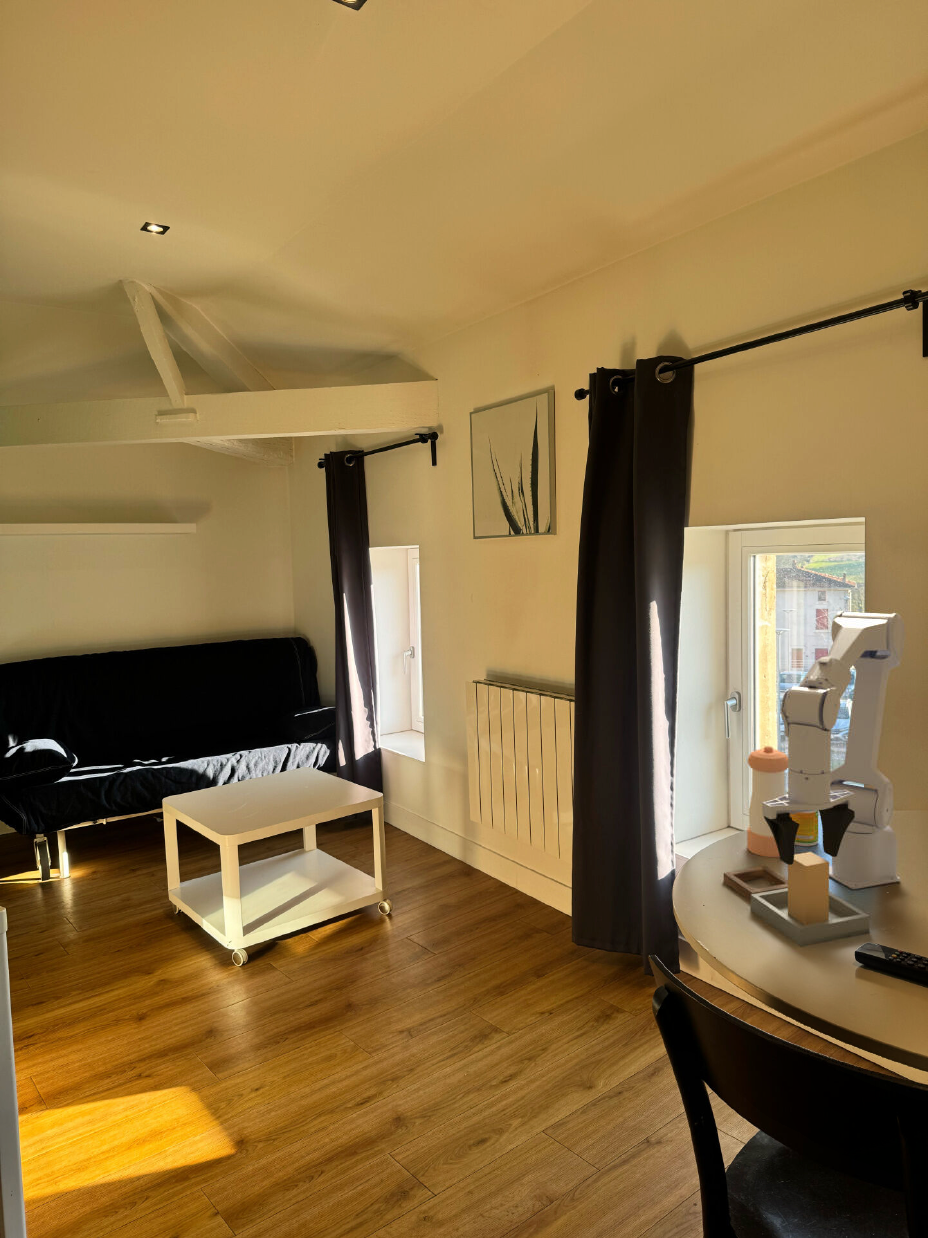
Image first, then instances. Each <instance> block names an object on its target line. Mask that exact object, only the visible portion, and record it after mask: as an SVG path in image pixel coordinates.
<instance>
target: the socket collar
mask: <svg viewBox="0 0 928 1238" xmlns="http://www.w3.org/2000/svg"><path fill="white" fill-rule="evenodd" d="M763 878H764V879H765V880H767V881H768V882H770V883H771V884H773V885H772V886H766V887H760V888H753V887H752V886H750V885H749V884H747V883H746V881H752V880H754V881H755V880H757V879H758V880H759V879H763ZM723 883H725V885H728V886H729V887H730V888H732V889H733V890H735V891H736V892H737V893H739V894H740V895H741V896H743V897H744V898H746V899H748V900H749V901H750V902H751V894H757V893H763V892H768V891H774V890H780V889H785V888H788V878H785V877H784V876H782V875H780V874H778V873H777V872H775V871H774V870H772V869H771V868H770V867H768V866H766V865H763V866H757V867H756V866H755V867H751V868H746V869H741V870H733V871H728V872H727V871H726V872H723Z"/></svg>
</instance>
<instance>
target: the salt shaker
mask: <svg viewBox="0 0 928 1238" xmlns="http://www.w3.org/2000/svg"><path fill="white" fill-rule="evenodd" d="M747 763H748V765H749V767H750V768H751V769H752V771H751V773H752V778H751V784H752V788H751V798H750V803H749V807H748V808H749V809H748V819H749V820H748V821H749V824H748V825H749V826H748V827H747V830H746V831H747V832H746V840H747V841H746V847H747V850H748V851H749V852H751V853H752V854H754V855H757V856H761V857H765V858H766V857H768V858H780V856H779V852H778V848H777V845H776V841H775V839H774V836H773V834H772V831H771V829H770V827H769V825H768V824H767V822H766V820H765V819H764V815H762V802H767V801H771V800H774V799H776V798H779V797H782V796H784V795H786V793H785V792H786V791H785V790H786V789H785V785H786V784H785V783H786V782H785V780H786V779H785V777H786V776H785V771H786V770H787V771H788V755H787V754H786V753H784V752H782V751H781V750H777V749H774V748H773V747H772V746H771V745H766V746H764V747H763V748H760V749H756V750H753V751H751V753H750V754H749V755H748V758H747Z"/></svg>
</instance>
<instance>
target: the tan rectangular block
mask: <svg viewBox="0 0 928 1238" xmlns="http://www.w3.org/2000/svg"><path fill="white" fill-rule="evenodd" d="M829 866H830V862H829V861H828V860H826V859H825V858H822V857H821V856H819V855H817V854H815V853H814V852H812V851H807V852H802V853H794V862H793V864H791V865H788V864H787V880H788V914H790V915H791V916H793V917H794V918H796V919H797V920H799V921H800V922H802V923H803V924H804V925H808V924H813V923H818V922H824V921H829V892H830V876H829Z"/></svg>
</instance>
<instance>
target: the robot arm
mask: <svg viewBox="0 0 928 1238" xmlns="http://www.w3.org/2000/svg"><path fill="white" fill-rule="evenodd" d="M905 629H906V628H905V621H904V619H903V617H902V616H901V615H900V613H896V612H893V613H878V612H877V613H875V612H874V613H873V612H872V613H871V612H851V611H850V612H848V611H844V610H840V611H838V612H837V613H836V614H835V616H834V617H833V620H832V623H831V631H830V633H831V635H830V636H831V640H832V642H833V643H832V645H831V647H830V649H829V651H828V653H827V655H826V656H823V657H819V658H818V659H817V660H816V661H815V660H814V662H813V664H812V665H811V667H810V668H809V671H808V672H806V675H805V676H804V677H803V679H802V680H801V681H800V683H799V685H798V686H792V687H791V688H789V689H786V691H784V694H783V696H782V701H781V707H780V715H781V720H782V722H783V725H784V728H783V729H784V730H783V731H784V733H783V734H784V735H785V737H787V742H788V743H787V752H788V753H787V757H788V768H787V772H788V773H787V787H788V788H787V789H788V790H786V794H785V795H784V796H782V797H779V798H776V799H774V800H771V801H767V802H762V815H764V819H765V820H766V822H767V824H768V825H769V827H770V829H771V831H772V834H773V836H774V839H775V841H776V845H777V848H778V852H779V856H780V857H779V860H780V861H781V862H783V863H785V864H787V866H788V865H791V864H793V862H794V855H795V846H796V845H795V838H796V834H797V831H798V828H799V825H800V824H799V823H797V822H795V821H793V820H792V817H790V814H795V813H801V812H808V811H814V810H818V814H819V817H820V822H821V828H822V832H821V833H822V848H823V853H825V854H826V855H829V856H830V857H831V865H829V878H832V879H834V880H836V882H839V883H840V884H843V885H844V886H846V887H848V888H850V889H852V890H857V889H863V888H869V887H874V886H875V887H876V886H880V885H885V884H890V883H897V882H901V877H899V876H898V875H897V871H898V870H897V868H898V867H897V865H898V864H897V862H898V858H897V857H898V841H897V837H896V834H895V831H894V830H893V828H892V827H891V826H890V824H891V822H892V818H893V814H894V797H893V796H894V794H893V793H894V787H893V785H894V784H892V782H891V780H889V779H888V778H887V777H886V775H884V774H883V773H882V771H880V770H879V769H878V768H877V766H878V757H879V750H880V749H879V748H880V743H881V741H880V740H881V732H882V727H883V719H884V711H885V710H884V709H885V702H886V696H887V695H886V693H887V686H888V679H889V676H890V672H891V670H892V669H894V668H897V667H899V666H900V665H901V663H902V659H903V655H904V649H905V648H904V647H905V638H906V630H905ZM852 667H853V668H854V669H855V679H854V687H853V695H852V702H851V709H850V717H849V725H848V734H847V741H846V748H845V756H844V761H843V764H841V765H840V766H838V767H836V768H834V769H832V770H831V759H832V758H831V751H832V750H831V749H832V748H831V746H832V729H833V728H834V727H835V726H836V724H837V720H838V715H839V710H840V708H841V698H842V697H843V695H844V694H845V692H846V690H847V689H848V687H849V685H850V683H851V681H852V679H853V678H852V672H851V668H852ZM847 782H851V783H857V784H862V785H867V786H872V787H874V788H870V787H866V786H860V785H854V784H850V783H849V784H848V783H847Z"/></svg>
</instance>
